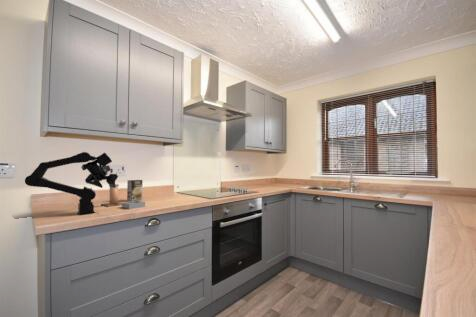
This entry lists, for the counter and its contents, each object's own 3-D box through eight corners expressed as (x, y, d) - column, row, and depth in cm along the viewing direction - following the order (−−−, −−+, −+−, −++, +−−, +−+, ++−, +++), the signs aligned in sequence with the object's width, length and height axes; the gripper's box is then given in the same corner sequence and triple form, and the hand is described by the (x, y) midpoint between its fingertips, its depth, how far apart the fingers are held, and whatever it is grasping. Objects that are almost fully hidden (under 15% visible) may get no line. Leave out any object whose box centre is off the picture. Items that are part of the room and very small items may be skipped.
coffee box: (131, 201, 168) (132, 180, 169) (126, 201, 172) (126, 180, 172) (142, 200, 176) (142, 179, 177) (137, 199, 180) (137, 179, 180)
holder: (129, 210, 134) (129, 204, 134) (122, 208, 141) (122, 202, 141) (145, 208, 142) (145, 201, 142) (137, 206, 148) (137, 200, 148)
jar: (116, 204, 149) (116, 184, 149) (107, 204, 148) (107, 185, 148) (119, 203, 154) (119, 184, 154) (110, 203, 153) (111, 184, 154)
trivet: (107, 208, 143) (107, 206, 143) (100, 206, 150) (100, 204, 150) (126, 205, 152) (126, 203, 152) (119, 203, 159) (119, 201, 159)
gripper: (116, 160, 137) (127, 177, 147) (89, 161, 140) (102, 177, 150) (106, 174, 129) (119, 191, 139) (78, 174, 132) (92, 190, 142)
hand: (108, 187), depth 143 cm, fingers open, 9 cm apart
